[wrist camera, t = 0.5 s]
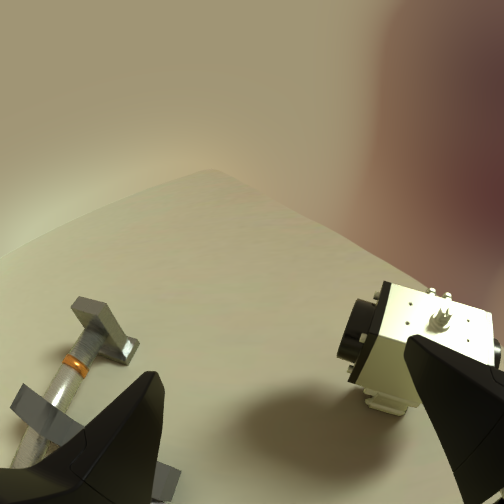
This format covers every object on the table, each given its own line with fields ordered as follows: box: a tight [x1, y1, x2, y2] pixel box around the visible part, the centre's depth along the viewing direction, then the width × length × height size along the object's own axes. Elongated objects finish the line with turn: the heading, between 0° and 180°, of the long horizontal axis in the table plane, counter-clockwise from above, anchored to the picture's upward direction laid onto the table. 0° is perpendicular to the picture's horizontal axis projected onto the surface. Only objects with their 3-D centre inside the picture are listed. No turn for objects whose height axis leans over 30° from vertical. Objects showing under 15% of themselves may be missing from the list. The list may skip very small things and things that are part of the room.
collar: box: [10, 383, 181, 502], centre depth 14 cm, size 3×14×5 cm, turn 78°
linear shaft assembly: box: [10, 296, 140, 469], centre depth 16 cm, size 23×5×7 cm, turn 168°
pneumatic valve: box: [337, 281, 501, 416], centre depth 17 cm, size 6×12×12 cm, turn 59°
